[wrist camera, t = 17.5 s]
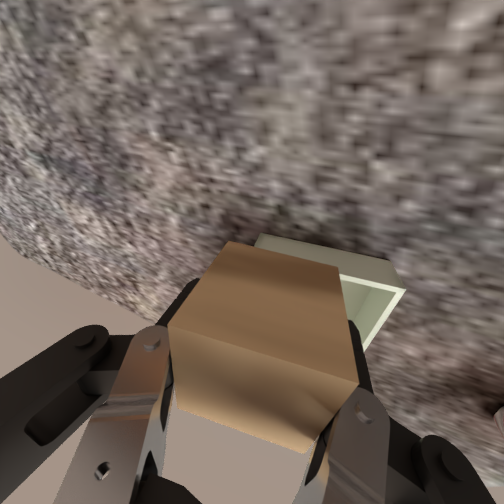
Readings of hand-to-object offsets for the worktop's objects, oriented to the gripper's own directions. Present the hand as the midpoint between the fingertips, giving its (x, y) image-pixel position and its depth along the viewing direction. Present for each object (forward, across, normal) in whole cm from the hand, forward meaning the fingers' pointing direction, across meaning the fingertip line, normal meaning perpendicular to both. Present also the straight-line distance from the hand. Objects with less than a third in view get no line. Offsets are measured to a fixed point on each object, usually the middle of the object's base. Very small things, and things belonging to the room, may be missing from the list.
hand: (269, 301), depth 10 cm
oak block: (0, 0, 0) cm, 0 cm away
